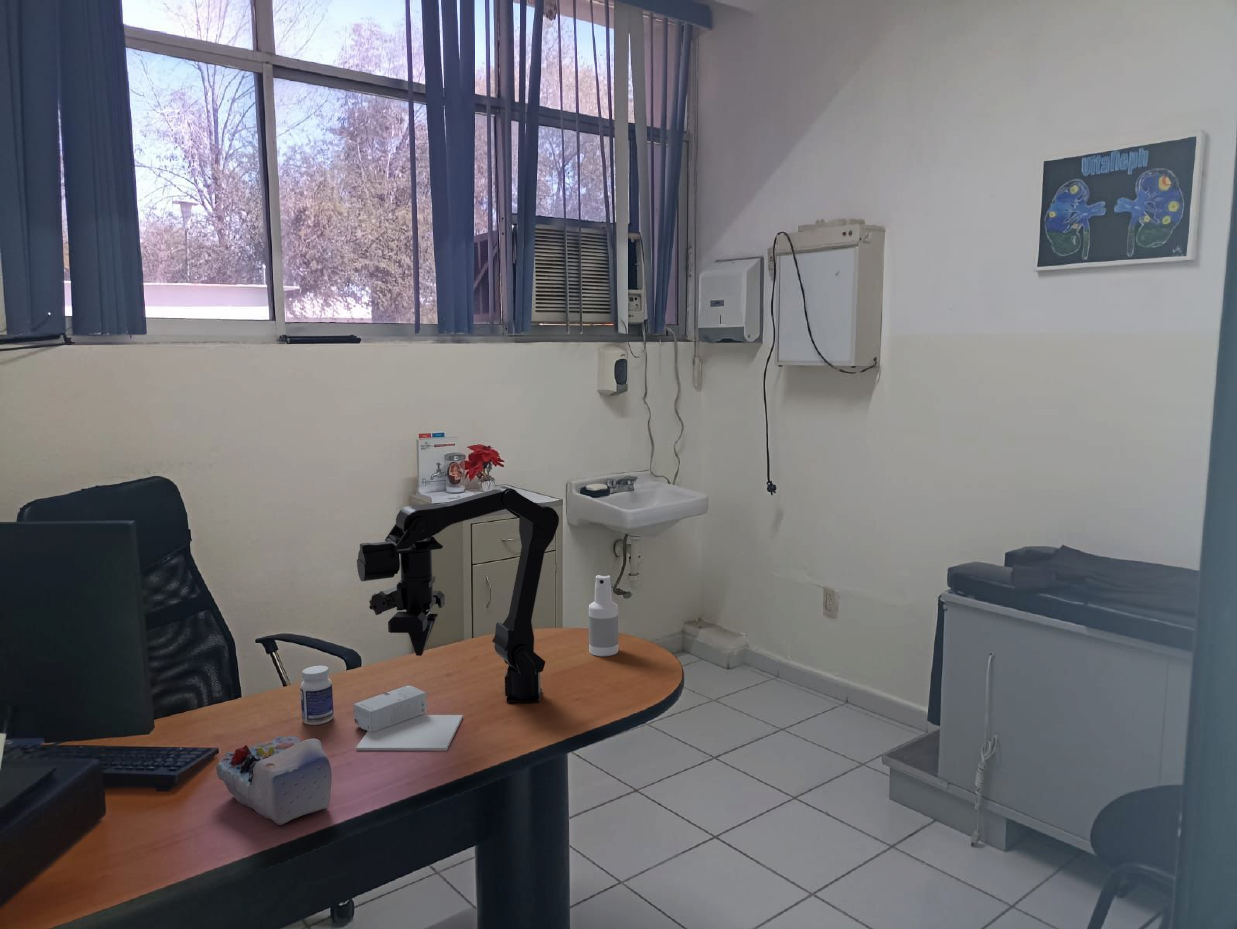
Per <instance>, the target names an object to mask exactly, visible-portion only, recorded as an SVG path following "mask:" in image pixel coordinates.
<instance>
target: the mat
mask: <svg viewBox="0 0 1237 929" xmlns="http://www.w3.org/2000/svg"><path fill="white" fill-rule="evenodd" d="M463 717H464V715H463V714H422V715H419V716H416V717H414V718H411V719H408V720H406V721H403V722H400V723H397V724H394V725H392V726H389V727H386V728H384V729H381V730H378V731H376V732H373V733H371V732H369V731H366V733H365V734H364V736H362V739H361V740H360V741H359V742H358V744H357V745H356V747H355V751H390V752H391V751H399V752H400V751H404V752H405V751H407V752H408V751H410V752H411V751H416V752H417V751H421V752H422V751H423V752H424V751H426V752H427V751H429V752H430V751H432V752H433V751H435V752H436V751H437V752H438V751H439V752H440V751H441V752H442V751H445V752H446V751H448V748H449V747H450V744H451V742H452V741H453V738H454V736H455V734H456V732H457V731H458V728H459V725H460V724H461V722H462V720H463Z"/></svg>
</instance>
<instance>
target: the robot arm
mask: <svg viewBox="0 0 1237 929" xmlns="http://www.w3.org/2000/svg"><path fill="white" fill-rule="evenodd" d="M503 510H506V511H507V512H508V513H510V514H512V515H514V516H515V517H516V518H517V519H519V520H518V524H519V525H518V532H519V537H520V538H519V539H520V544H521V548H520V554H519V558H518V565H517V570H516V574H515V580H514V584H513V591H512V595H511V596H512V597H511V600H510V606H509V612H508V615H507V616H506V618H505V620H504V621H503V622H502V623H501V622H496V624H495V633H494V636H493V638H492V640H491V642H492V643H493V644H494V649H495V650H494V651H495V652H496V653H497V655H498V656H499V657H500V658H502V659H503V661H504V663H505V664H506V665H508V668H507V669H506V673H505V674H504V696H505V697H506V699H505V701H506V702H505V703H522V704H523V703H524V704H525V703H539V701H540V699H541V695H542V691H543V689H542V688H541V673H542V672H543V671H544V669H545V665H546V660H544V659H543V658H542V657H541V656H539V654H537V653H536V652H535V634H534V630H533V629H534V628H533V623H532V621H533V620H532V619H533V614H534V609H535V605H536V604H535V603H536V600H537V595H538V594H537V593H538V589H539V588H538V587H539V583H540V578H541V573H542V568H543V562H544V557H545V552H546V550H547V549H548V547H549V546H550V544H552V542H553V540H554V538H555V535H556V532H557V530H558V528H559V524H560V515H559V514H558V513H557V511H556V509H554V508H552V507H550V506H547V505H545V504H542V503H538V502H534V501H533V500H530V499H529V498H527V497H525V496H524V495H522V494H521V493H520V492H518V491H517V490H516V489H514V488H512V487H508V486H504V485H502V486H499V487H497V488H495V489H490V490H487V491H484V492H481V493H478V494H477V493H476V494H473V495H469V496H466V497H462V498H459V499H454V500H451V501H447V502H444V503H432V504H431V503H425V504H413V505H411V504H410V505H406V506H404V507H402V508H401V509H399V512H398V513H397V515H396V518H395V524H394V525H393V527H392V528H391V530H389V532H388V534H387V535H386V537H385V538H384V541H379V542H361V543H359V551H358V554H357V559H356V567H357V573H358V577H359V580H360V581H361V582H368V581H376V580H383V579H384V580H385V579H392V578H394V577H395V576H396V575H397V574H398V573H399V571H400V581H398V582H397V584H396V586H394V587H391V588H389V589H385V590H380V591H378V592H377V593H376V592H374V593H373V594H372V595H371V597H370V598H369V600H368V602H369V609H370V610H372V611H373V612H374V614H375V616H378V615H382V614H383V613H384V612H387V611H390V610H392V609H395V608H396V611H397V612H396V613H395V614H394V615H393V616H392V617H391V618H390V619H389V620H388V622H387V628H388V633H390V634H408V636H409V639H410V642H411V645H412V648H413V650H414V654H415V656H418V657H420V656H423V655H424V653H425V649H426V647H427V644H428V642H429V638H430V636H431V634H432V631H433V628H434V625H435V623H436V620H437V619H438V616H439V613H431V609H432V608H433V607H434V606H435V605H437V606H438V609H440V608H443V607H444V606H445V604H446V602H445V600H446V599H445V598H446V597H445V596H446V594H444V593H443V592H442V591H441V590H434V586H433V585H434V583H435V582H436V576H435V575H434V576H433V557H432V556H433V554H432V551H434V550H442V549H443V547H444V546H443V545H442V544H441V543H440V542H438V540H437V539H436V537H434V536H436V535H438V534H440V533H441V532H442V531H444V530H445V529H446V528H448V527H450V526H452V525H454V524H458V523H461V522H465V521H468V520H473V519H475V518H479V517H483V516H486V515H489V514H493V513H496V512H499V511H503Z"/></svg>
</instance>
